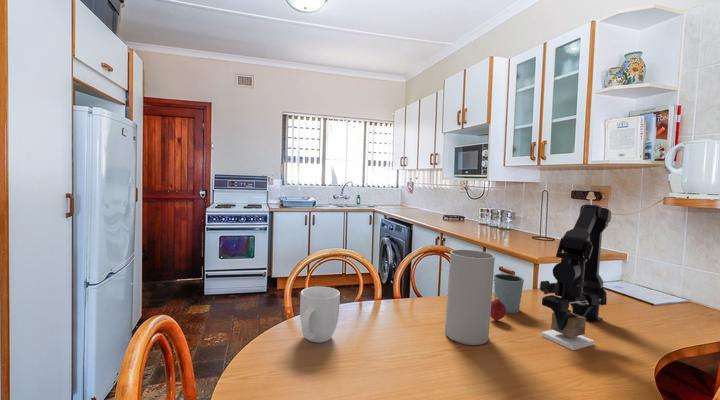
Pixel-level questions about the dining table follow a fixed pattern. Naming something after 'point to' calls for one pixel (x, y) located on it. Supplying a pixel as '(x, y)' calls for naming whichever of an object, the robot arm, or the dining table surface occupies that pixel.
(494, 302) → the onion
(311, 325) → the mug
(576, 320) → the collar
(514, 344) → the dining table surface
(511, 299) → the grey-blue tapered cup
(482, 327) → the cylinder vase
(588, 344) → the post base
